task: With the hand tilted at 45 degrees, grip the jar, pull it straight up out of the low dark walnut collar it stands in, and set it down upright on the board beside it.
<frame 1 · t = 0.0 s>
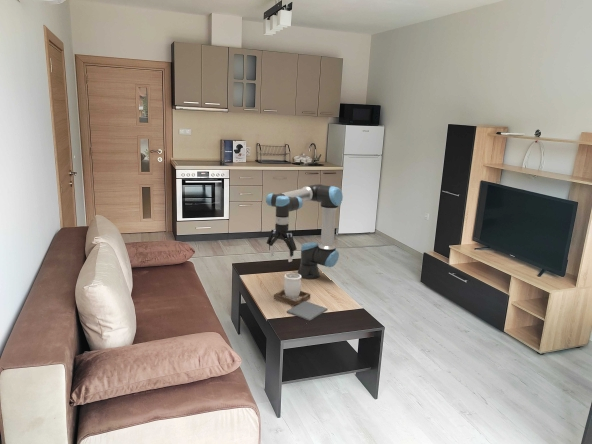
hand: (280, 258, 263), 28 cm above the table, tool pointing down, fingers open, 13 cm apart
jar: (292, 299, 277), resting in collar
collar: (292, 298, 277), on the table
board: (307, 311, 261), on the table
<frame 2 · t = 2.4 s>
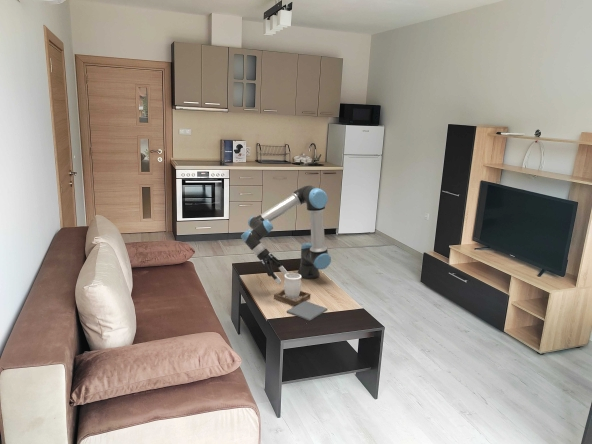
hand: (283, 278, 275), 12 cm above the table, tool tilted 45°, fingers open, 13 cm apart
nothing on the table moved.
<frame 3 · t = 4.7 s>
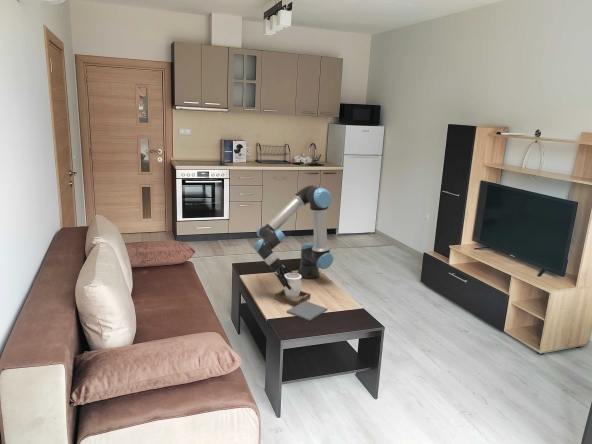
hand: (297, 289, 275), 7 cm above the table, tool tilted 45°, fingers closed on jar, 10 cm apart
jar: (292, 299, 277), resting in collar, touching gripper
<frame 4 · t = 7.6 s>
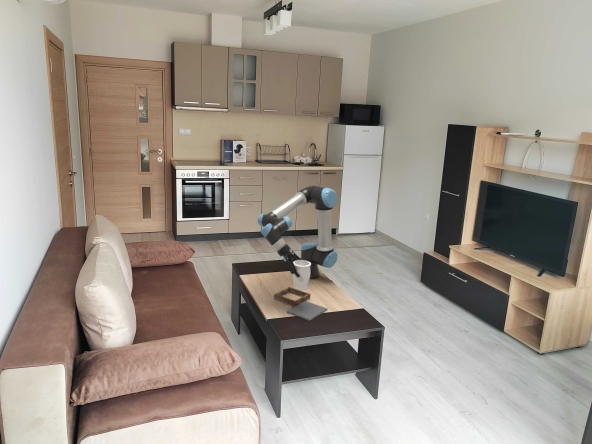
hand: (306, 277, 259), 19 cm above the table, tool tilted 45°, fingers closed on jar, 10 cm apart
jar: (300, 287, 262), point 13 cm above the table, touching gripper
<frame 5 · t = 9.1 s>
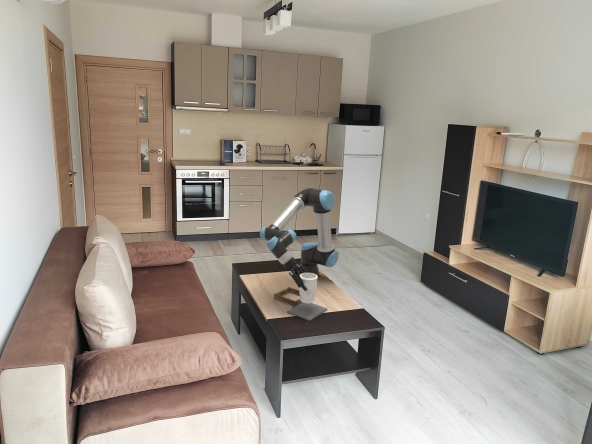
hand: (312, 290, 257), 13 cm above the table, tool tilted 45°, fingers closed on jar, 10 cm apart
jar: (307, 300, 259), point 7 cm above the table, touching gripper
when the fingers open (9 cm above the table, at t = 10.4 s): jar drops 1 cm, resting on board.
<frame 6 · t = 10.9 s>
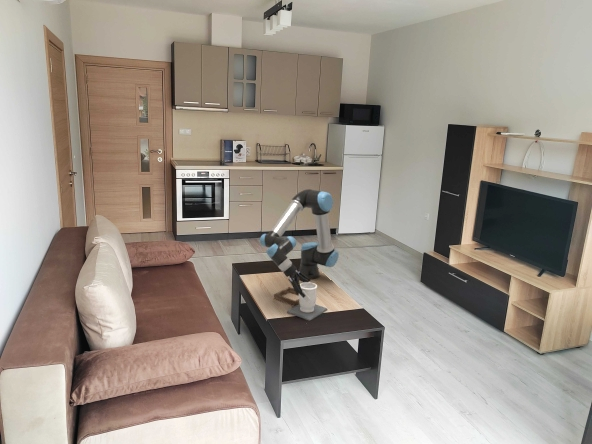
hand: (311, 296, 258), 10 cm above the table, tool tilted 45°, fingers open, 13 cm apart
jar: (307, 310, 261), point 1 cm above the table, touching board
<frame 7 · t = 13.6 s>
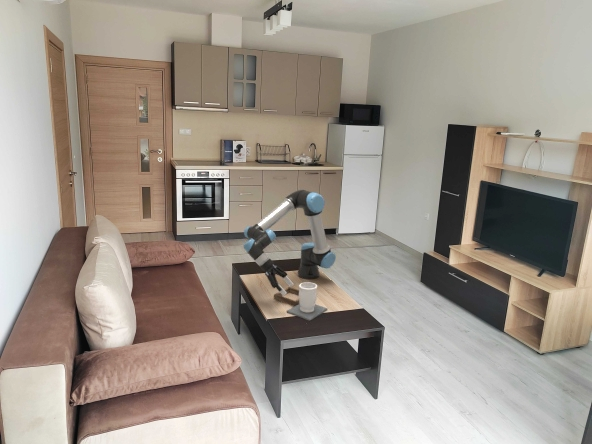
hand: (288, 290, 262), 11 cm above the table, tool tilted 45°, fingers open, 13 cm apart
nothing on the table moved.
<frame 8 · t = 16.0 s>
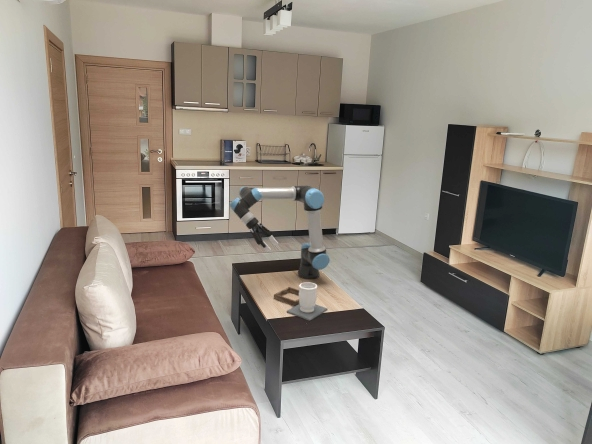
hand: (273, 247, 271), 32 cm above the table, tool tilted 45°, fingers open, 13 cm apart
nothing on the table moved.
at the end: jar inside the target area on the board (0.2 cm from its centre), point 0.5 cm above the board's base; jar tilted 0°; the gripper is holding nothing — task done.
